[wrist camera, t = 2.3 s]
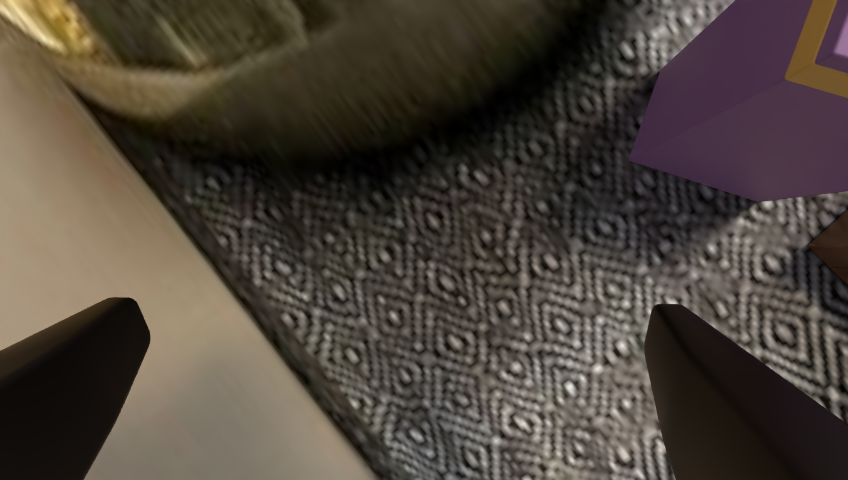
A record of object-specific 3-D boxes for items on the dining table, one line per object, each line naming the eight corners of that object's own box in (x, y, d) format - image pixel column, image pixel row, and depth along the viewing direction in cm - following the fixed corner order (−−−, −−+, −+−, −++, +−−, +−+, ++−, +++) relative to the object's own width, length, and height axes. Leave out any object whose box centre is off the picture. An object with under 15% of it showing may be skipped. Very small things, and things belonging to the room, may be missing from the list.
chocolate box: (759, 203, 22) (1175, 154, 9) (626, 160, 22) (830, 55, 9) (794, 108, 21) (1273, -87, 8) (659, 68, 22) (915, -172, 9)
